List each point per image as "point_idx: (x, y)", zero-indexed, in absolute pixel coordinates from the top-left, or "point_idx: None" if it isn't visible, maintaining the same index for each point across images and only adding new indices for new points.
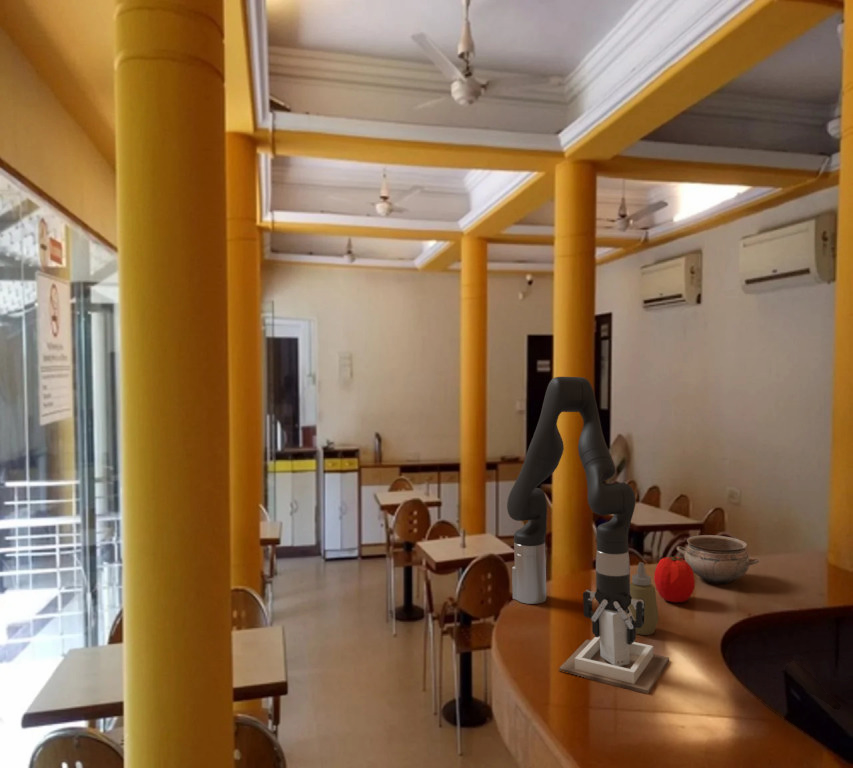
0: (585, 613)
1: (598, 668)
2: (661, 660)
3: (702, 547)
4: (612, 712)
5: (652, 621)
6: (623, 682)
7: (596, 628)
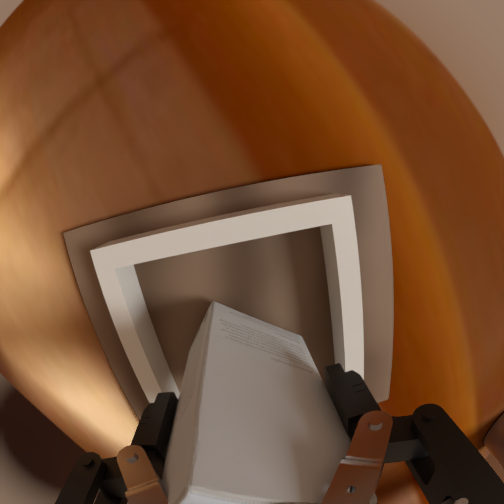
0: (437, 418)
1: (237, 214)
2: None
3: None
4: (99, 61)
5: None
6: (138, 224)
7: (342, 392)
